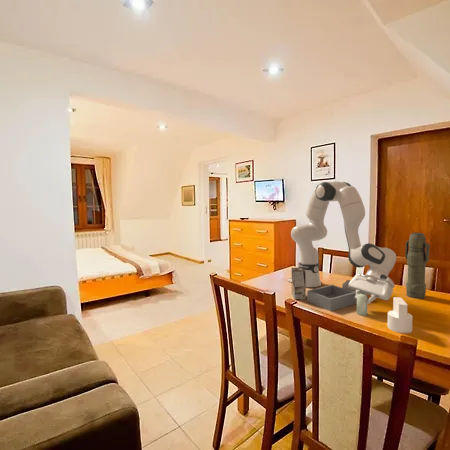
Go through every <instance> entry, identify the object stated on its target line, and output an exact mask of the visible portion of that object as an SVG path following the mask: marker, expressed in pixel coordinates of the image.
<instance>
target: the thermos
mask: <svg viewBox="0 0 450 450" xmlns="http://www.w3.org/2000/svg"><path fill="white" fill-rule="evenodd" d="M430 248H431V247H430V244H429V243H428V242H427V238H426V235H425V233H423V232H412V233H410V235H409V237H408V240H406V242H405V250H404V251H405V253H404V254H405V255H404V257H405V259H406V264H407V281H406V286H405V287H406V288H405V289H406V290H405V291H406V295H405V296H406V297H409V298H411V299H418V300H421V299H425V298H426V292H427V291H426V290H427V284H426V266H427V263H428V262H429V261H430Z"/></svg>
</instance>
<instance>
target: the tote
mask: <svg viewBox="0 0 450 450" xmlns="http://www.w3.org/2000/svg"><path fill="white" fill-rule="evenodd" d="M355 296H356V292H354V291H350V290H347V289H344V288H342V287H341V286H338V285H334V284H330V285H326V286H322V287H321V286H320V287H316V288H314V289H309V290H307V292H306V298H307V299H306V301H308V303H309V304H312V305H315V306H317V307H320V308H321V309H324V310H326V309H327V311H329V312H332V311H336V310H340V309H343V308H346V307H350V306H352V305H357V300H356V299H355Z"/></svg>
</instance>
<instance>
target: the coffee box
mask: <svg viewBox="0 0 450 450" xmlns="http://www.w3.org/2000/svg"><path fill="white" fill-rule="evenodd" d="M298 267H299V266H298ZM298 267H291V273H290V274H292V283H291V296H292V295H293V296H292V297H293V299H294V300H295V299H301V300H307V299H306V298H307V292H306V290H307V289H306V288H307V287H306V275H305V270H304V269H303V268H302V267H301V268H300V267H299V268H298Z"/></svg>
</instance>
